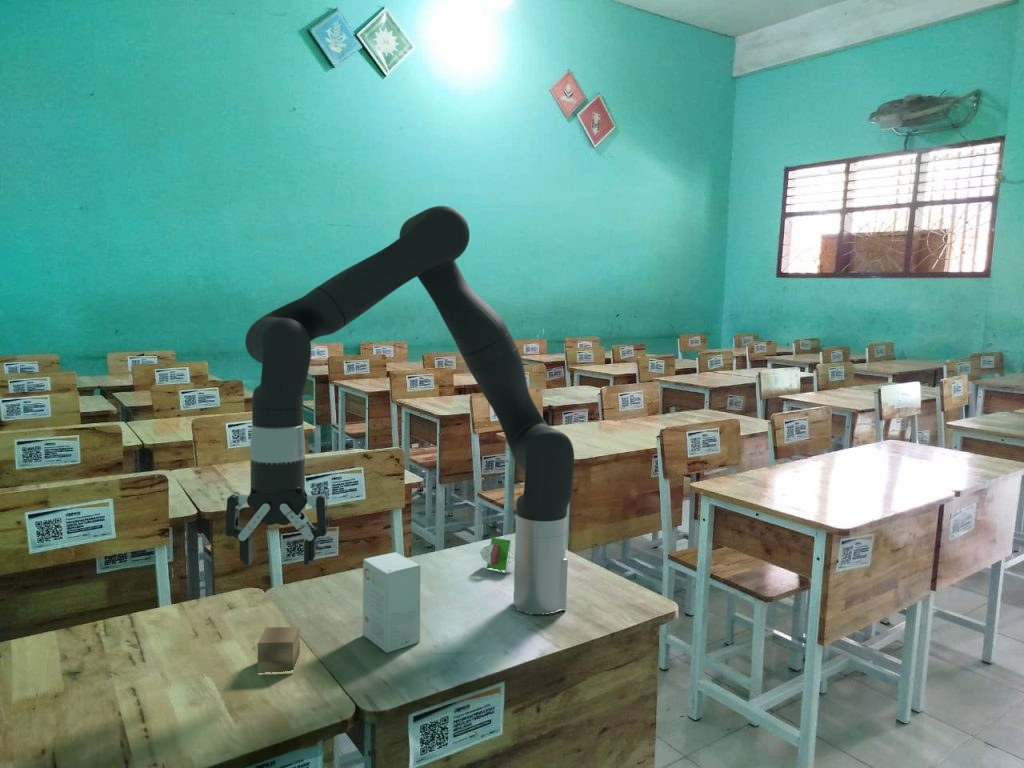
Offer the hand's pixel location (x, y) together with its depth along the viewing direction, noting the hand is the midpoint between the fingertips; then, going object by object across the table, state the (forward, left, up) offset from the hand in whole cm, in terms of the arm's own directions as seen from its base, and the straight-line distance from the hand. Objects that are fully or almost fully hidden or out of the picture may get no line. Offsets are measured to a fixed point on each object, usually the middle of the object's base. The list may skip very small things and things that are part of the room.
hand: (278, 563), depth 104 cm
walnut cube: (0, 0, -16) cm, 16 cm away
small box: (-16, -8, -16) cm, 24 cm away
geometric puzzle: (-36, -38, -16) cm, 55 cm away
